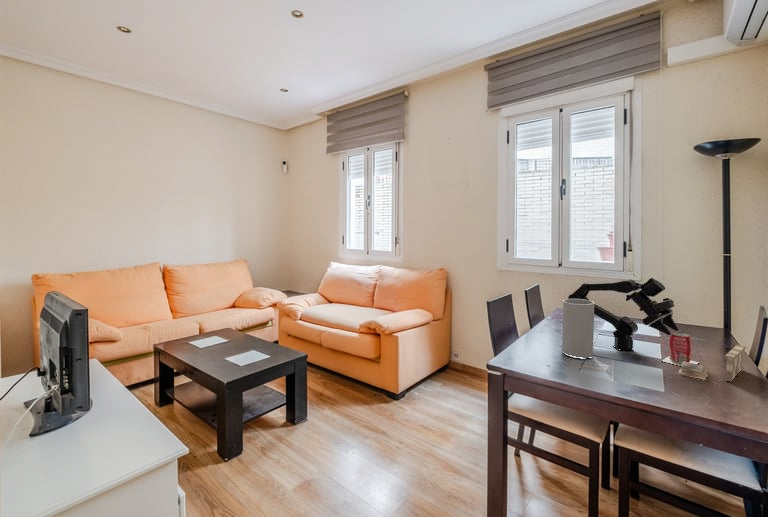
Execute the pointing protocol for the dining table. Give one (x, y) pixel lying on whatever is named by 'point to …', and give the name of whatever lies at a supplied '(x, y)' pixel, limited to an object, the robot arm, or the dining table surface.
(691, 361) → the white mat
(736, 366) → the rack board
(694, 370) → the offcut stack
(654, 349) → the dining table surface
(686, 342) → the soda can
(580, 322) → the cylinder vase
